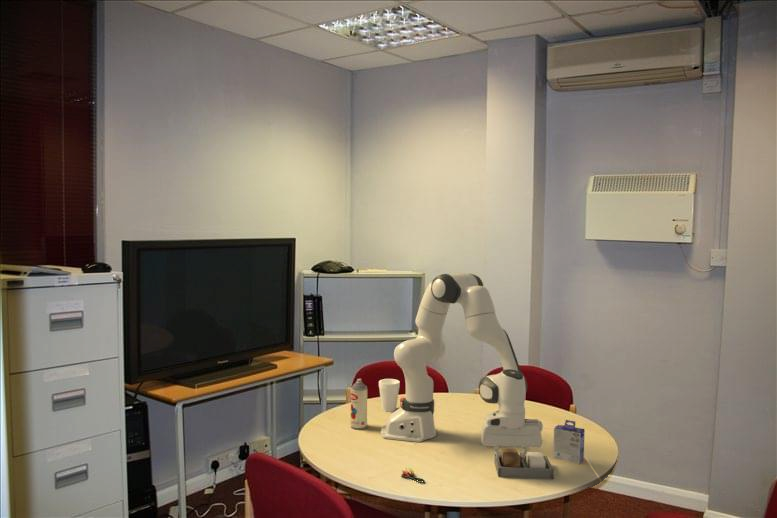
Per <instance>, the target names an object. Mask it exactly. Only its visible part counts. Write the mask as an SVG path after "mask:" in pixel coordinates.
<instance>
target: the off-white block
mask: <svg viewBox="0 0 777 518" xmlns="http://www.w3.org/2000/svg"><path fill="white" fill-rule="evenodd" d="M543 456H544V455H543V453H542V452H541V451H540V452H539V451H528V452H527V453H526V467H527V468H545V462H546V461H545V459H544V457H543Z"/></svg>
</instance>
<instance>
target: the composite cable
mask: <svg viewBox="0 0 777 518" xmlns="http://www.w3.org/2000/svg"><path fill="white" fill-rule="evenodd" d="M401 471H402V473H401V478H403V479H406V480H410V479H411V480H412V481H413V480H414V482H415V481H416V482H415V483H417V482H418V484H419V483H424V484H425V483H426V481H425V479H424V478H421V477H416V476H415V473H414V470H413V469H412V468H407V467H405V470H404V469H401ZM417 480H418V481H417ZM421 481H423V482H421Z"/></svg>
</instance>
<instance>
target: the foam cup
mask: <svg viewBox="0 0 777 518" xmlns="http://www.w3.org/2000/svg"><path fill="white" fill-rule="evenodd" d="M400 383H401V382H400V380H398V379H394V378H384V379H380V380H379V381H378V388H379V397H380V403H381V411H383V412H384V413H386V412H387V413H393V412H395V411H396V410H397V405H398V400H399V397H398V396H399V392H400V386H401V385H400Z"/></svg>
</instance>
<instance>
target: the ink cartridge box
mask: <svg viewBox="0 0 777 518" xmlns="http://www.w3.org/2000/svg"><path fill="white" fill-rule="evenodd" d="M568 423H571V424H568ZM552 447H553V449H552V459H554V460H559V461H563V462H568V463H574V464H577V465H581V463H582V462H583V461H584V458H585V428H581V427H576V421H575V420H570V419H569V420H568V419H565V422H564V424H557V425H555V427H553V445H552Z"/></svg>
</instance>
